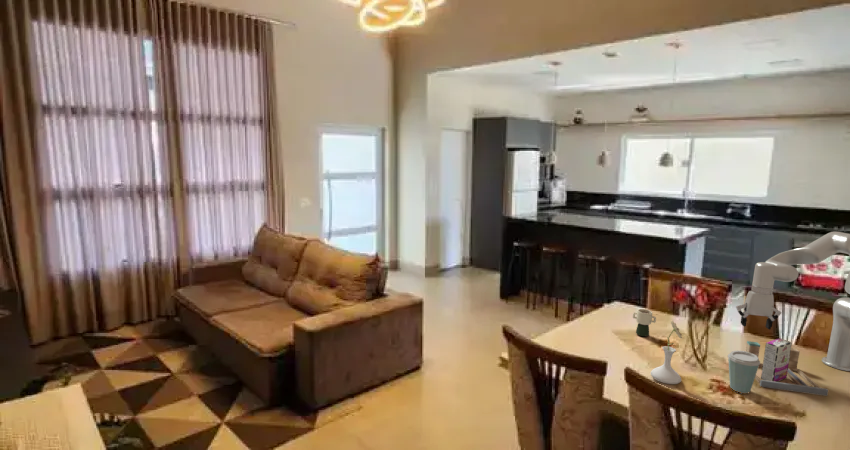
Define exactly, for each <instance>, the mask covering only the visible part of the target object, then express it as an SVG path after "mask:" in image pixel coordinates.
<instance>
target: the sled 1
mask: <svg viewBox="0 0 850 450" xmlns="http://www.w3.org/2000/svg"><path fill="white" fill-rule="evenodd" d="M760 349H761V344H760V343H759V342H758V341H749V340H747V341H746V347H745V351H746V352H749V353H752V354H754V355H757V357H758V358H759V354H760ZM758 368H763V363H761V362H760V364H759V367H758ZM787 377H788V378H789V379H790V380H791V381H792V382H793V384H796V385H802V384H800V383H799V382H798V381H797V380H796V379H795V378H794V377H793V376H792V375H791V374H789V373H788V372H787ZM754 380H755V381H757V382H758V383H759V384H760V380H762V379H761V377H759V375H757V374H756V376H755V379H754ZM766 381H768V380H766ZM774 382H775V381H774ZM781 383H783V382H782V381H781ZM787 383H788V382H787ZM788 384H791V382H790V383H788ZM803 386H804V385H803Z"/></svg>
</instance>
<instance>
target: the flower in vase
mask: <svg viewBox="0 0 850 450" xmlns="http://www.w3.org/2000/svg"><path fill="white" fill-rule="evenodd" d="M670 324H671V327H672V331H671V332H670V334H669V335H668V336H666V338H667V346H666V345H665V346H662V347H661V348H662V350H663V352H664V362H663V364H662V365H660V366H657V367H655V368H653V369H651V371H650V376H651V378H653V380H654V379H655V380H656V381H658V382H660V383H663V384H667V385H677V384H679V383H681V382H682V377H681V376H680V374H679V373H678V372H677V371H676V370H675V369H674V368H673V366H672V365H671V361H672V357H673V355H674V353H675V352H676V351H677V349H676V348H675V347H672V346H670V345H674V344H675V343H674V342H672V343H671V342H670V337H671V335H673V333H674V332H675V334H676V335H677V337H678V338H679V339H683V335H682V333H681V331H680V328H679V327H678V326H677V324H676V322H674V320H670Z"/></svg>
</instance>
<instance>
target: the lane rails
mask: <svg viewBox="0 0 850 450" xmlns="http://www.w3.org/2000/svg"><path fill="white" fill-rule="evenodd" d="M787 372H788V373H789V374H791V375H792V376H793V377H794V378H795V379H796V380H797V381H798V382H799V383H800V384H802V385H796V384H795V383H790V384H788V382H782V381H781V382H782V383H781V382H780V381H778V382H774V381H766V380H763V379H761V380H760V383H759V386H760V387H761V386H762V388H770V389H775V390H781V391H782V390H784V391H788V392H789V391H791V392H797V393H803V394H805V393H806V394H811V395H818V396H824V397H827V396H828V393H829V389H828V388H824V387H821V388H818V387H814V386H812V387H810V386H809V385H808V384H807V383H806V382H805V381H804V380H802V378H800V377H799V376H798V375H797V374H796V373H795V372H794V371H791V370H789V369H788V371H787ZM794 373H795V374H796V375H797V376H798V377H799V378H798V377H797V376H796V375H795V374H794ZM803 381H804V382H805V383H806V384H807V385H808V386H807V385H806V384H805V383H804V382H803ZM803 385H804V386H803Z"/></svg>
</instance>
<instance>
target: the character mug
mask: <svg viewBox="0 0 850 450" xmlns="http://www.w3.org/2000/svg"><path fill="white" fill-rule="evenodd" d="M632 318H633V319H635V320H636V322H637V327H636V330H635V334H636V335H638V336H641V337H648V336H650V326H649V325H652V323H654V324H655V323H657V322H656V321H657V317H656V316H654V315H653V311H651V310H649V309H646V308H639V309H637V311H636V312H634V311H633V313H632Z"/></svg>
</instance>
